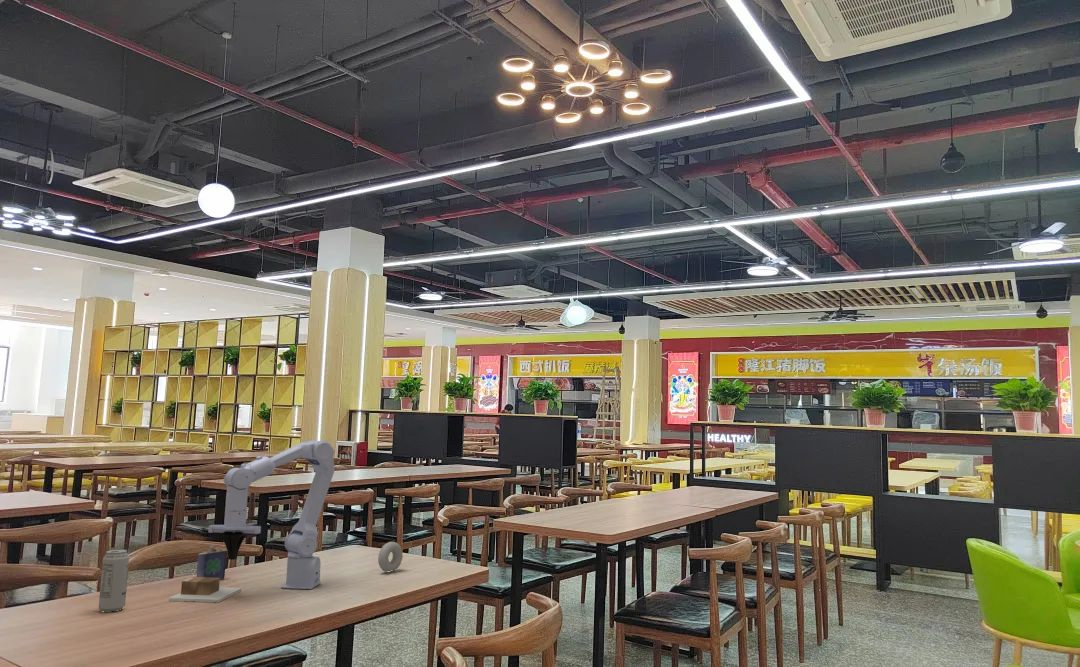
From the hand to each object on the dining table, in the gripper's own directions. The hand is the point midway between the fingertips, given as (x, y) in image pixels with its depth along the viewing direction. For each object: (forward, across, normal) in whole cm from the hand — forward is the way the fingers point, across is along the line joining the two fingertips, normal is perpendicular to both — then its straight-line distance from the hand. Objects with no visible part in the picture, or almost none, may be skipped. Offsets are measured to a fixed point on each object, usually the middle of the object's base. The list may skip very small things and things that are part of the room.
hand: (232, 558), depth 208 cm
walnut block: (+8, -5, 0) cm, 9 cm away
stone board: (+10, -7, 0) cm, 13 cm away
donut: (+11, +36, +39) cm, 54 cm away
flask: (+11, -15, +18) cm, 26 cm away
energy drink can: (+11, -23, -18) cm, 31 cm away
